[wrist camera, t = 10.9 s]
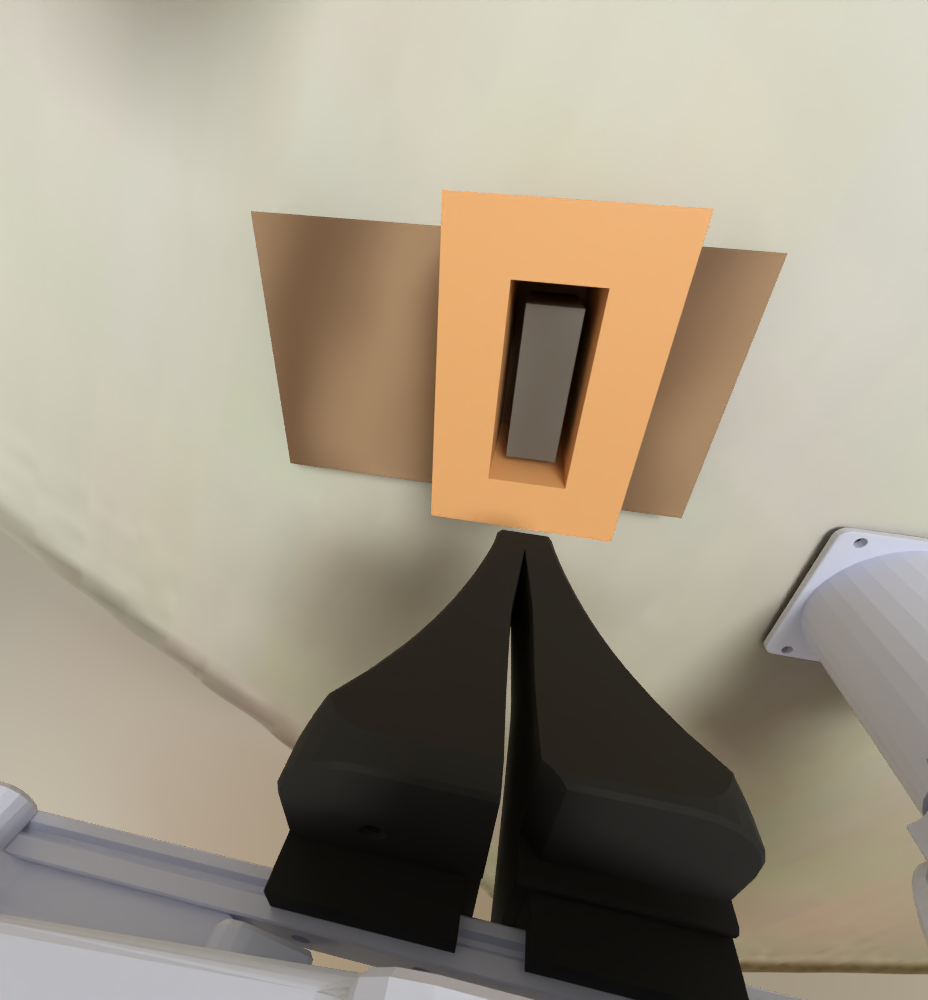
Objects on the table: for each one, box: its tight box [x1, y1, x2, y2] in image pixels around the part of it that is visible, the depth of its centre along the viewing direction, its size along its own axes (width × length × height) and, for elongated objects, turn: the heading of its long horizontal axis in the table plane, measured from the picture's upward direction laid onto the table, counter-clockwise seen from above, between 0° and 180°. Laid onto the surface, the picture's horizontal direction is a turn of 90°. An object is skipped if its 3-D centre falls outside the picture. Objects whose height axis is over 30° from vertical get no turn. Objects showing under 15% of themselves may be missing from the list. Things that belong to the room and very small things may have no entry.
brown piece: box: [251, 211, 787, 518], centre depth 16 cm, size 18×10×6 cm, turn 86°
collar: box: [431, 190, 714, 542], centre depth 14 cm, size 6×9×5 cm, turn 176°
